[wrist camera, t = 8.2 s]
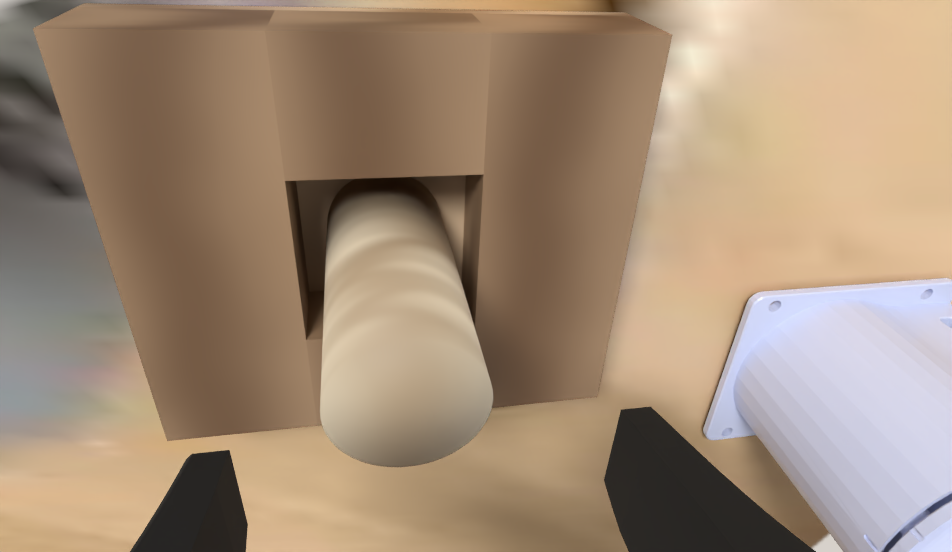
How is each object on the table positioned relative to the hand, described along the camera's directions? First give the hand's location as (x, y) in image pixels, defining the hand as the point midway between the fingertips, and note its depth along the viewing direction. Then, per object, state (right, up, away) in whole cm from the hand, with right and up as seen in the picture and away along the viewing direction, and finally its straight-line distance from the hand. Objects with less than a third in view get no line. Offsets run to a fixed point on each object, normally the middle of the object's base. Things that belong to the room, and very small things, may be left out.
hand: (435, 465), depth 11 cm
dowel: (-2, +5, +8) cm, 9 cm away
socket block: (-2, +6, +8) cm, 10 cm away
